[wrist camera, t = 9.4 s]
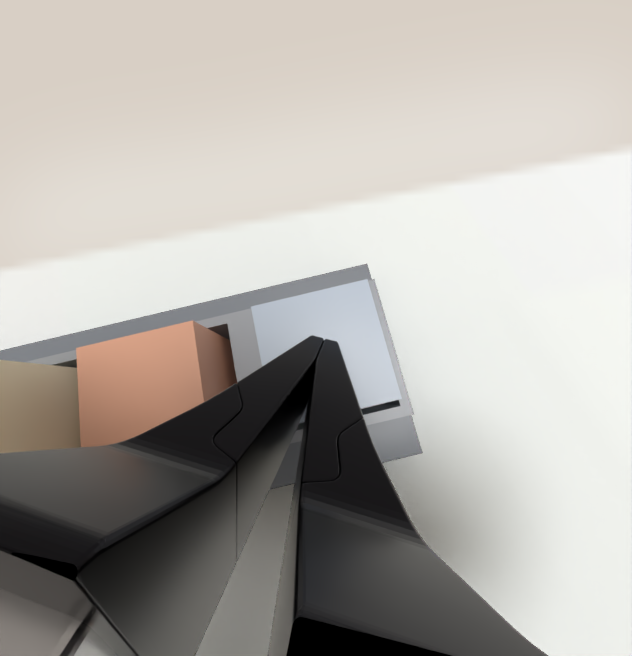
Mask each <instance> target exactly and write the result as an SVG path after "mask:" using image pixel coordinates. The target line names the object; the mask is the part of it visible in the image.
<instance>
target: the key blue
mask: <svg viewBox="0 0 632 656" xmlns="http://www.w3.org/2000/svg"><path fill="white" fill-rule="evenodd" d="M251 310H252V315H253V320H254V326H255V331H256V336H257V342H258V347H259V352H260V358H261V363H262V366H264V365H265V364H267V363H268V362H270V361H271V360H273V359H275V358H276V357H278V356H279V355H281V354H282V353H284V352H286V351H287V350H289V349H290V348H292V347H293V346H295V345H297V344H298V343H300V342H301V341H303V340H304V339H306V338H308V337H309V336H311V335H314V336H318V337H321V338H323V339H324V340H325V339H329V340H333V341H337V342H338V344H339V347H340V350H341V353H342V355H343V358H344V361H345V364H346V367H347V370H348V373H349V376H350V379H351V382H352V385H353V388H354V390H355V393H356V396H357V399H358V402H359V405H360V408H365V407H370V406H374V405H378V404H382V403H386V402H391V401H395V400H399V399H402V397H401V394H400V390H399V387H398V383H397V380H396V376H395V373H394V369H393V366H392V363H391V359H390V356H389V352H388V349H387V345H386V342H385V338H384V335H383V331H382V328H381V324H380V321H379V318H378V314H377V311H376V307H375V304H374V300H373V297H372V293H371V290H370V286H369V283H368V279H365V280H361V281H357V282H352V283H348V284H344V285H340V286H336V287H331V288H327V289H323V290H319V291H314V292H310V293H306V294H302V295H298V296H293V297H289V298H285V299H281V300H276V301H272V302H268V303H264V304H260V305H255V306H251ZM307 404H308V403H307ZM306 410H307V406H306V409H305V411H304V413H303V416H302V418H301V420H300V422H299V423H302V422H304V421H305V415H306Z"/></svg>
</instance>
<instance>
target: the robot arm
mask: <svg viewBox="0 0 632 656" xmlns="http://www.w3.org/2000/svg"><path fill="white" fill-rule="evenodd" d="M307 403H308V404H307ZM306 406H307V410H306V415H305V421H304V428H303V434H302V440H301V447H300V453H299V460H298V466H297V472H296V479H295V485H294V491H293V498H292V504H291V510H290V517H289V523H288V530H287V536H286V542H285V549H284V555H283V561H282V568H281V574H280V580H279V587H278V593H277V600H276V606H275V612H274V619H273V625H272V631H271V638H270V644H269V651H268V656H548V655H547V654H545V653H544V652H542V651H541V650H540V649H538V648H537V647H536V646H534V645H533V644H532V643H530V642H529V641H528V640H527V639H526V638H525V637H524V636H522V635H521V634H520V633H519V632H518V631H517V630H516V629H514V628H513V627H512V626H511V625H510V624H509V623H508V622H507V621H506V620H505V619H504V618H503V617H502V616H501V615H500V614H499V613H497V612H496V611H495V610H494V609H493V608H492V607H491V606H490V605H489V604H488V603H487V602H486V601H485V600H484V599H483V598H482V597H481V596H480V595H478V594H477V593H476V592H475V591H474V590H473V589H472V588H471V587H470V586H469V585H468V584H467V583H466V582H465V581H464V580H463V579H462V578H461V577H459V576H458V575H457V574H456V573H455V572H454V571H453V570H452V569H451V568H450V567H449V566H448V565H447V564H446V563H445V562H444V561H443V560H441V559H440V558H439V557H438V556H437V555H436V554H435V553H434V552H433V551H432V550H431V549H430V548H429V547H428V545H427V544H426V543H425V542H424V541H423V539H422V538H421V536H420V535H419V534H418V532H417V530H416V529H415V527H414V526H413V524H412V522H411V520H410V518H409V516H408V514H407V512H406V510H405V508H404V506H403V504H402V502H401V500H400V498H399V496H398V494H397V492H396V490H395V488H394V486H393V484H392V482H391V480H390V478H389V476H388V474H387V472H386V470H385V468H384V466H383V464H382V462H381V460H380V457H379V455H378V453H377V451H376V449H375V446H374V444H373V441H372V439H371V436H370V434H369V431H368V428H367V425H366V422H365V420H364V417H363V414H362V411H361V408H360V405H359V402H358V399H357V396H356V393H355V390H354V388H353V385H352V382H351V379H350V376H349V373H348V370H347V367H346V364H345V361H344V358H343V355H342V353H341V350H340V347H339V344H338V342H337V341H333V340H329V339H325V340H324V339H323V338H321V337H318V336H314V335H311V336H309V337H308V338H306V339H304V340H303V341H301V342H300V343H298V344H297V345H295V346H293V347H292V348H290V349H289V350H287V351H286V352H284V353H282V354H281V355H279V356H278V357H276V358H275V359H273V360H271V361H270V362H268V363H267V364H265V365H264V366H262V367H260V368H259V369H257V370H256V371H254V372H253V373H251V374H249V375H248V376H246V377H245V378H243V379H242V380H240V381H238V382H237V384H234V385H232V386H230V387H229V388H227V389H226V390H224V391H222V392H221V393H219V394H217V395H216V396H214V397H212V398H211V399H209V400H207V401H205V402H203V403H201V404H199V405H198V406H196V407H194V408H192V409H190V410H188V411H186V412H184V413H182V414H180V415H178V416H176V417H174V418H172V419H170V420H168V421H166V422H164V423H162V424H160V425H158V426H156V427H154V428H152V429H150V430H148V431H146V432H144V433H142V434H140V435H137V436H135V437H133V438H130V439H128V440H125V441H122V442H118V443H115V444H109V445H102V446H91V447H77V448H64V449H51V450H37V451H24V452H11V453H0V656H195V654H196V652H197V650H198V647H199V645H200V643H201V641H202V638H203V636H204V634H205V632H206V630H207V627H208V625H209V623H210V621H211V618H212V616H213V614H214V612H215V610H216V607H217V605H218V603H219V601H220V598H221V596H222V594H223V592H224V590H225V587H226V585H227V583H228V581H229V578H230V576H231V574H232V572H233V570H234V567H235V565H236V561H237V560H238V558H239V556H240V554H241V552H242V549H243V547H244V545H245V543H246V540H247V538H248V536H249V534H250V531H251V529H252V527H253V525H254V523H255V520H256V518H257V516H258V514H259V511H260V509H261V507H262V505H263V503H264V500H265V498H266V496H267V494H268V491H269V489H270V487H271V485H272V483H273V480H274V478H275V476H276V474H277V471H278V469H279V467H280V465H281V462H282V460H283V458H284V456H285V454H286V451H287V449H288V447H289V445H290V442H291V440H292V438H293V436H294V434H295V431H296V429H297V427H298V425H299V422H300V420H301V418H302V416H303V413H304V411H305V409H306Z"/></svg>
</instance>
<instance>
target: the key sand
mask: <svg viewBox="0 0 632 656" xmlns="http://www.w3.org/2000/svg"><path fill="white" fill-rule="evenodd" d="M77 447H81V441H80V420H79V398H78V377H77V368H74V367H64V366H55V365H45V364H36V363H26V362H17V361H8V360H0V453H11V452H24V451H37V450H51V449H64V448H77Z"/></svg>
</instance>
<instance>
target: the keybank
mask: <svg viewBox="0 0 632 656" xmlns="http://www.w3.org/2000/svg"><path fill="white" fill-rule="evenodd" d="M365 279H368V283H369V286H370V290H371V293H372V297H373V300H374V304H375V307H376V311H377V314H378V318H379V321H380V324H381V328H382V331H383V335H384V338H385V342H386V345H387V349H388V352H389V356H390V359H391V363H392V366H393V369H394V373H395V376H396V380H397V383H398V387H399V390H400V394H401V397H402V399H399V400H395V401H391V402H386V403H382V404H378V405H374V406H370V407H365V408H361V411H362V414H363V417H364V420H365V422H366V425H367V428H368V431H369V434H370V436H371V439H372V441H373V444H374V446H375V449H376V451H377V453H378V455H379V457H380V460H381V462H382V463H383V462H387V461H391V460H395V459H400V458H404V457H408V456H412V455H417V454H421V453H422V450H421V447H420V443H419V440H418V436H417V433H416V429H415V426H414V423H413V419H412V416H411V415H413V414H414V413H413V409H412V406H411V402H410V399H409V396H408V392H407V389H406V385H405V382H404V379H403V375H402V372H401V368H400V365H399V362H398V358H397V355H396V351H395V348H394V345H393V341H392V338H391V334H390V331H389V328H388V324H387V321H386V318H385V314H384V311H383V307H382V304H381V301H380V297H379V294H378V290H377V287H376V284H375V280H374V279H373V280H372V279H371V275H370V272H369V269H368V265H367V264H364V265H360V266H355V267H351V268H347V269H343V270H339V271H334V272H330V273H326V274H322V275H317V276H313V277H309V278H305V279H301V280H296V281H292V282H288V283H284V284H279V285H275V286H271V287H267V288H263V289H258V290H254V291H250V292H246V293H242V294H237V295H233V296H229V297H225V298H220V299H216V300H212V301H208V302H204V303H199V304H195V305H191V306H187V307H182V308H178V309H174V310H170V311H166V312H161V313H157V314H153V315H149V316H144V317H140V318H136V319H132V320H128V321H123V322H119V323H115V324H111V325H107V326H102V327H98V328H94V329H90V330H85V331H81V332H77V333H73V334H69V335H64V336H60V337H56V338H52V339H47V340H43V341H39V342H35V343H31V344H26V345H22V346H18V347H14V348H10V349H5V350H1V351H0V360H8V361H17V362H26V363H36V364H45V365H55V366H64V367H74V368H77V355H76V348H78V347H83V346H87V345H91V344H95V343H99V342H104V341H108V340H112V339H116V338H120V337H125V336H129V335H133V334H137V333H142V332H146V331H150V330H154V329H158V328H163V327H167V326H171V325H175V324H180V323H184V322H188V321H192V320H193V321H195V322H197V323H198V324H200V325H202V326H204V327H206V328H208V329H210V330H211V331H213V332H215V333H217V334H219V335H221V336H223V337H225V338H226V339H228V340H230V342H231V348H232V354H233V360H234V366H235V372H236V378H237V382H238V381H240V380H242V379H243V378H245V377H246V376H248V375H249V374H251V373H253V372H254V371H256V370H257V369H259V368H260V367H262V363H261V358H260V352H259V347H258V342H257V336H256V331H255V326H254V320H253V315H252V310H251V306H255V305H260V304H264V303H268V302H272V301H276V300H281V299H285V298H289V297H293V296H298V295H302V294H306V293H310V292H314V291H319V290H323V289H327V288H331V287H336V286H340V285H344V284H348V283H352V282H357V281H361V280H365ZM303 428H304V422H302V423H299V425H298V427H297V429H296V431H295V434H294V436H293V438H292V440H291V442H290V445H289V447H288V449H287V451H286V454H285V456H284V458H283V460H282V462H281V465H280V467H279V469H278V471H277V474H276V476H275V478H274V480H273V483H272V485H271V487H270V489H273V488H277V487H281V486H286V485H290V484H294V483H295V479H296V472H297V466H298V460H299V453H300V447H301V440H302V434H303Z"/></svg>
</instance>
